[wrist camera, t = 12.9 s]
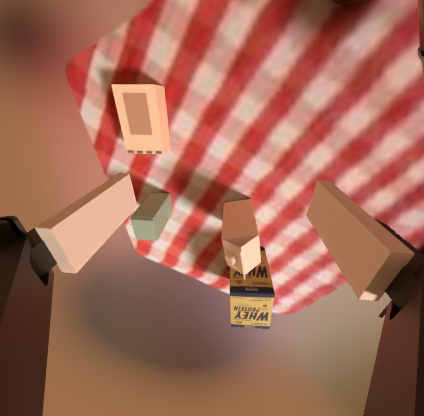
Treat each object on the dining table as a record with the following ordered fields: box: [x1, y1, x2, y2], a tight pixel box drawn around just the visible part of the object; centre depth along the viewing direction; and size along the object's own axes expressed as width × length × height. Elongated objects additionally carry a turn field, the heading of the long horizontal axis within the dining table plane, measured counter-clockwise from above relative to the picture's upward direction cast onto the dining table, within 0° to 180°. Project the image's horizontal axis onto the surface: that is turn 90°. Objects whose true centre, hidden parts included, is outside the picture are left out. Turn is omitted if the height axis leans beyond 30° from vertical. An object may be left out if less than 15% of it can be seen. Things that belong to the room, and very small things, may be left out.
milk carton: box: [221, 199, 261, 280], centre depth 41 cm, size 7×7×19 cm
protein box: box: [230, 248, 275, 329], centre depth 52 cm, size 10×16×16 cm
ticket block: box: [111, 84, 171, 154], centre depth 37 cm, size 12×8×5 cm, turn 0°
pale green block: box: [130, 192, 172, 241], centre depth 44 cm, size 6×5×12 cm
